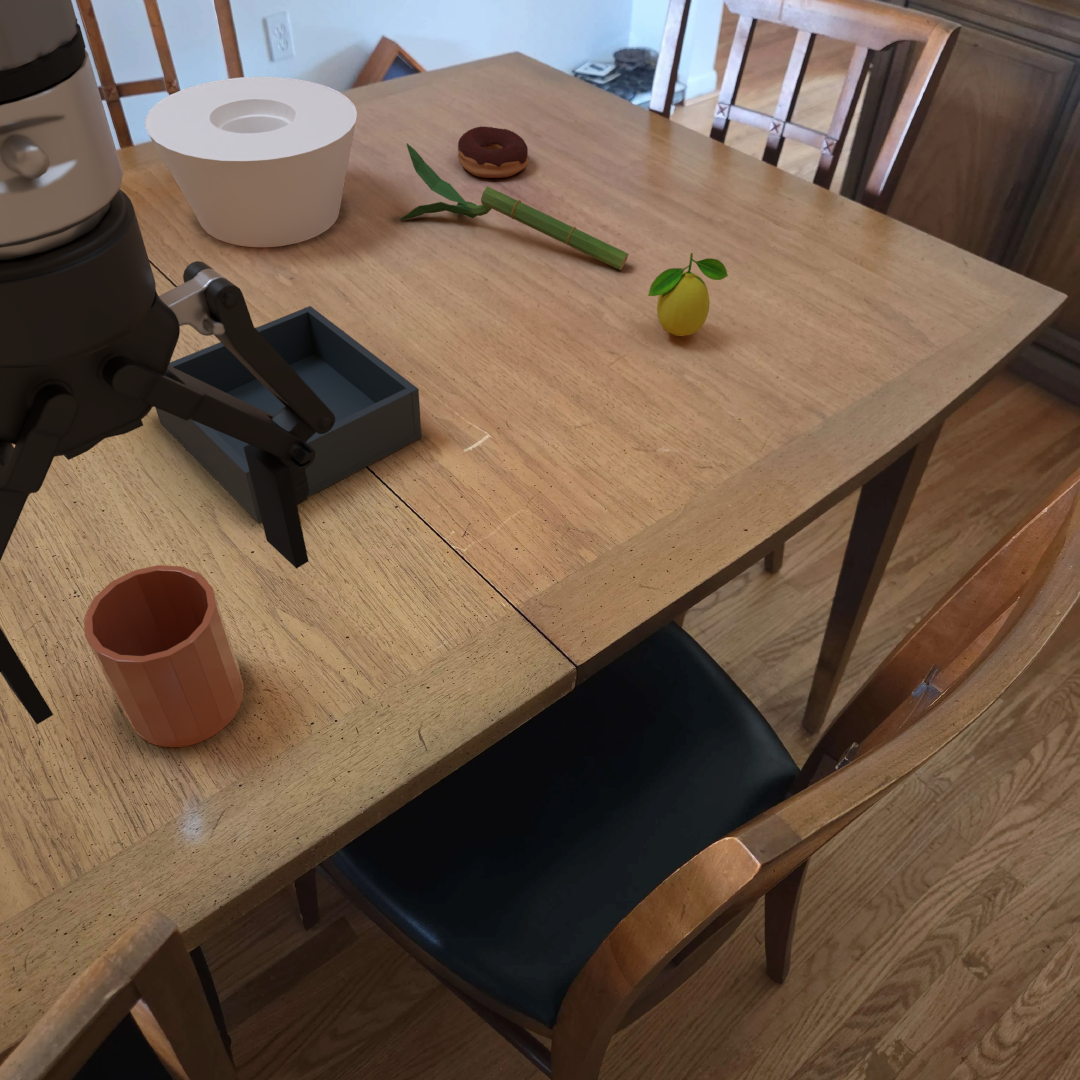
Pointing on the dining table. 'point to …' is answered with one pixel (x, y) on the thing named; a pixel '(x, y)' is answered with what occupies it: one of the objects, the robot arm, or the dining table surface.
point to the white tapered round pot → (257, 156)
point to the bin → (333, 375)
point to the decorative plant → (512, 215)
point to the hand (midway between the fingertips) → (169, 620)
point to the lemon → (685, 296)
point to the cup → (166, 654)
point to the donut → (492, 152)
